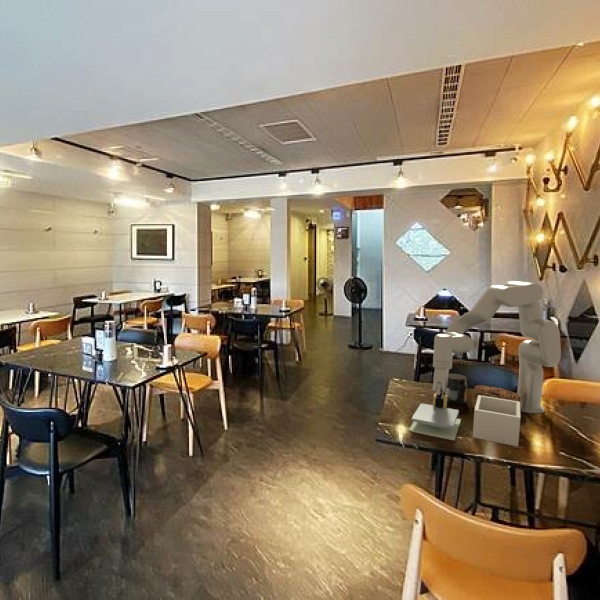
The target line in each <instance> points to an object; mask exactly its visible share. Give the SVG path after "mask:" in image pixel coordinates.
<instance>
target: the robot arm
mask: <svg viewBox="0 0 600 600" xmlns="http://www.w3.org/2000/svg"><path fill="white" fill-rule="evenodd" d="M543 295H544V290H543V288H542V286H541V285H540V284H538V283H535V282H530V281H529V282H527V281H517V280H511V281H508V282H506V283H505V284H504V285H501V284H495V285H490V286H489V287H488V288H486V290H485V291H484V293H483V294H482V295H481V296H480V298H479V299H478V300H477V302H475V304H474V305H473V306H472V308H471V309H470V310H469V311H467V312H466V313H464V314H462V315H461V316H459V317H458V318H457V317H456V319H455V320H453V322H452V323H451V324H450V325H449V326H448V327H447V329H446V330H445V332H444V333H437V334H436V335H435V336H434V339H433V341H434V342H433V359H432V361H433V362H432V367H433V368H434V372H433V382H432V391H433V392H434V391H435V393H436V398H435V407H439V408H443V401H444V399H443V395H445V390H446V388H447V385H448V374H450V373H449V372H450V370H451V369H452V368H453V354H454V353H460V354H461V353H462V354H463V353H469V352H471V351H472V350H473V348H474V346H475V344H474V340H473V338H472V337H470V336H468V335H467V334H464V333H465V332H466V331H467V330H469V329H472V328H474V327H477V326H481V325H484V324H488V323H489V322H490V321H491V319H492V318H493V317H494V315H495V314H496V313H497V312H498V310H499V309H500V308H501V307H504V308H505V307H506V308H515V307H517V309H518V315H519V316H518V317H519V326H520V328H519V329H520V333H521V335H522V336H524V337H525V338H528V339H525V340H523V341H522V342H520V344H519V346H518V351H517V354H518V363H519V365H518V366H519V371H518V381H517V382H518V383H517V392H516V393H517V394H518V395H519V396H520V412H523V413H526V414H535V415H536V414H543V413H544V412H545V408H544V407H543V406H542V404H541V403H542V395H543V394H542V393H543V381H544V368H543V366H544V367H548V368H551V367H552V368H553V367H556V366H557V365H558V364H559V362H560V360H561V357H562V356H561V355H562V350H561V347H562V346H561V333H560V328H559V326H558V325H557V324H556V323H555V322H554V321H552V320H549V319H544V318H543V317H542V309H541V304H540V301H541V300H542V298H543ZM441 394H442V396H441Z"/></svg>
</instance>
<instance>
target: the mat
mask: <svg viewBox="0 0 600 600" xmlns="http://www.w3.org/2000/svg"><path fill="white" fill-rule="evenodd" d="M461 422H462V418H457V419H456V422H455V425H454V427H453V429H445V428H440V427H435V426H430V425H425V424H421V423H417V422H413V421H412V424H411V425H410V427H409V429H408V432H411V433H416V434H422V435H426V436H431V437H436V438H440V439H444V440H445V439H446V440H449V441H456V439H457V438H456V437H457V434H458V431H459V428H460V425H461Z"/></svg>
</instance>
